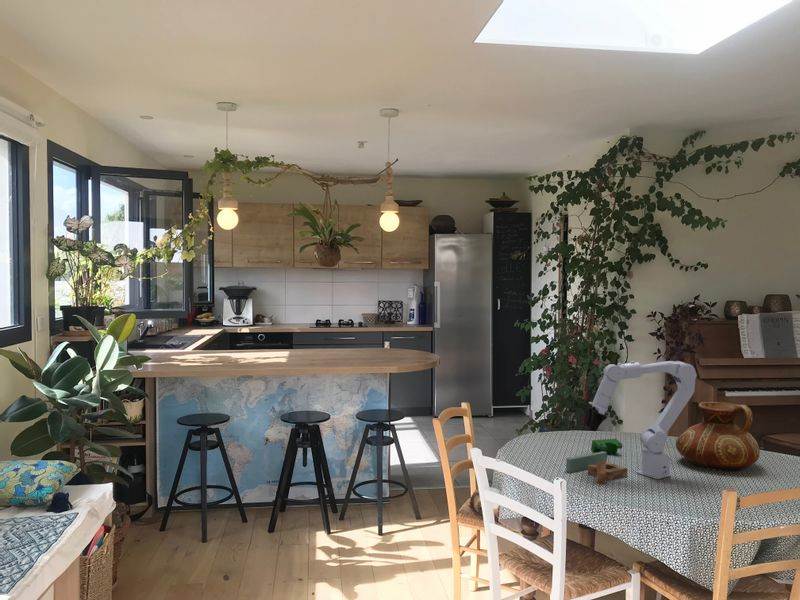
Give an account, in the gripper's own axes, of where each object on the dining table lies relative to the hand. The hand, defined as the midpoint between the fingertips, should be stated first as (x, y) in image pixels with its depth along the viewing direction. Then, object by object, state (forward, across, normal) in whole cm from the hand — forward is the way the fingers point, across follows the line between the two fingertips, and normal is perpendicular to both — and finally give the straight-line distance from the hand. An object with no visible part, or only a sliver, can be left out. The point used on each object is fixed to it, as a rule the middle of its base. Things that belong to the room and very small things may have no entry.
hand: (590, 428), depth 246 cm
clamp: (+11, -29, +17) cm, 35 cm away
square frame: (+14, +1, +12) cm, 18 cm away
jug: (-3, -20, +54) cm, 58 cm away
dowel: (+15, +11, +8) cm, 20 cm away
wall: (+16, -7, +6) cm, 18 cm away
